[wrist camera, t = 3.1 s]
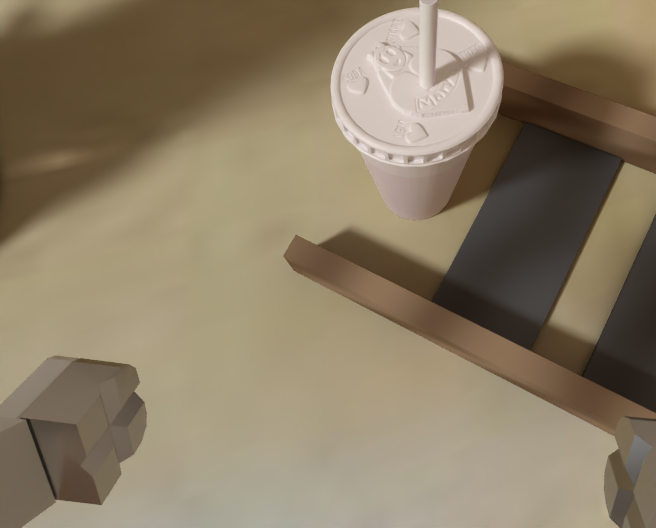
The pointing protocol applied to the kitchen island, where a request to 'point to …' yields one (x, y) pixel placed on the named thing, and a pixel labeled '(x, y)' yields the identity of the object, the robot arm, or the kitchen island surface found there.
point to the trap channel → (534, 257)
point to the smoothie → (417, 102)
